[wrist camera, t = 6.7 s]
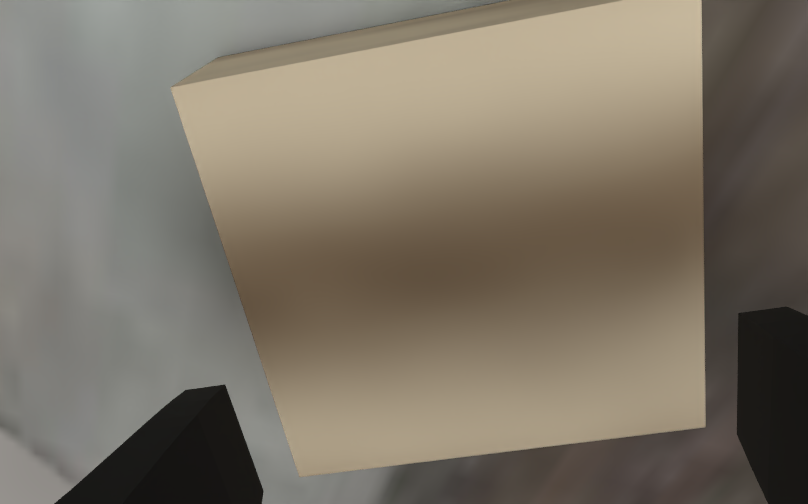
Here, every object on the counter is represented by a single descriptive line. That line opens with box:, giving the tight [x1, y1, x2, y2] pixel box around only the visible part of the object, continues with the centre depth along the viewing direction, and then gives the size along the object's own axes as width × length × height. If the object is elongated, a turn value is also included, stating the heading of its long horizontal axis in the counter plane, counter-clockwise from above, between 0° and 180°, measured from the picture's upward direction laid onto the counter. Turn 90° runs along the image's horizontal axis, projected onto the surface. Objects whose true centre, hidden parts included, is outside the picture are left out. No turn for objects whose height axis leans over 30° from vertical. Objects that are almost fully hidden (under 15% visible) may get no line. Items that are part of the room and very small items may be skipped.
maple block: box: [170, 0, 705, 477], centre depth 15 cm, size 9×9×3 cm
